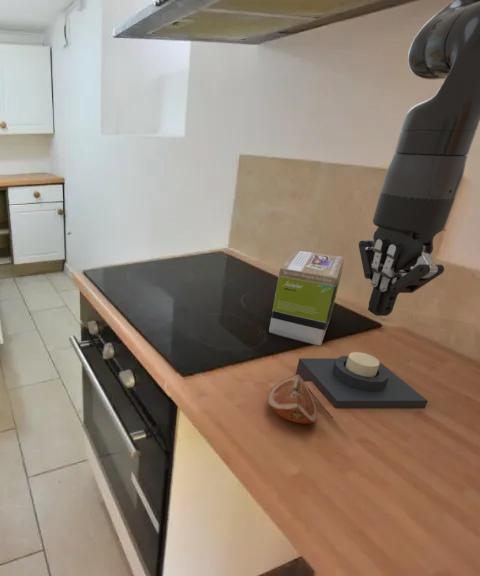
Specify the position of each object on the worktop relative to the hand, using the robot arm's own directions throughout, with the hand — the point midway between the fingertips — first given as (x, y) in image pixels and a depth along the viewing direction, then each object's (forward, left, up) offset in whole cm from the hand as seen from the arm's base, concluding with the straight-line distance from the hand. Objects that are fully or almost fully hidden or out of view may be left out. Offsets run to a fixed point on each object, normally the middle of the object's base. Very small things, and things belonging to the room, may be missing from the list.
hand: (377, 313), depth 55 cm
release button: (0, 0, -10) cm, 10 cm away
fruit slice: (+12, +5, -15) cm, 20 cm away
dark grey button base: (0, 0, -14) cm, 14 cm away
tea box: (-3, -23, -15) cm, 27 cm away
